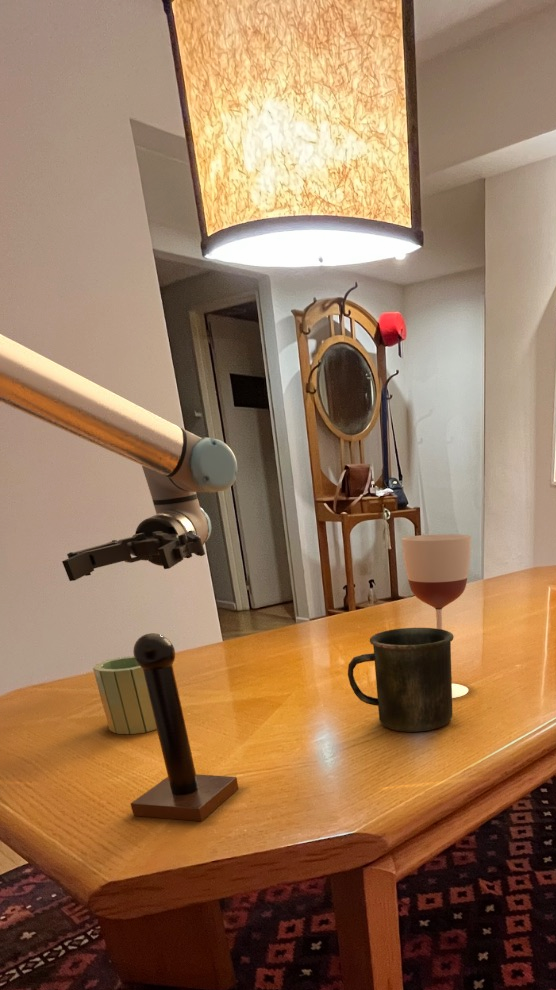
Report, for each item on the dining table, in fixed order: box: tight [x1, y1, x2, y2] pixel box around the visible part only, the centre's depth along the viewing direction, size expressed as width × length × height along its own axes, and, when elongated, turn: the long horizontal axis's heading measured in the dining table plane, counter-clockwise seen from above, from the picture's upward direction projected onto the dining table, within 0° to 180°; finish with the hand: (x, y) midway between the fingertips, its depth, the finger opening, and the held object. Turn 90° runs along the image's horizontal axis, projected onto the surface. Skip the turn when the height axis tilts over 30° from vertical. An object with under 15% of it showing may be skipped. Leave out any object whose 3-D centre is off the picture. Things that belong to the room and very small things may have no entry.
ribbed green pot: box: [92, 655, 157, 735], centre depth 95 cm, size 8×8×9 cm
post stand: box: [130, 632, 239, 822], centre depth 70 cm, size 8×8×18 cm
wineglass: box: [401, 533, 472, 699], centre depth 103 cm, size 9×10×23 cm
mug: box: [347, 627, 455, 733], centre depth 92 cm, size 11×15×12 cm
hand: (115, 565), depth 94 cm, fingers open, 13 cm apart
